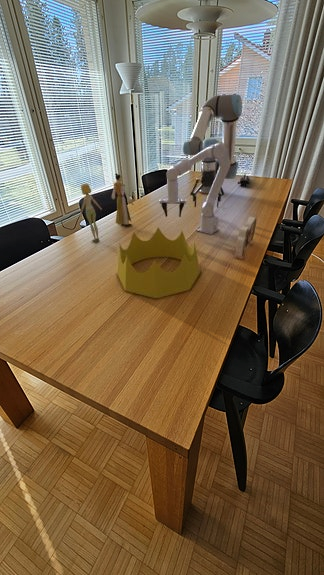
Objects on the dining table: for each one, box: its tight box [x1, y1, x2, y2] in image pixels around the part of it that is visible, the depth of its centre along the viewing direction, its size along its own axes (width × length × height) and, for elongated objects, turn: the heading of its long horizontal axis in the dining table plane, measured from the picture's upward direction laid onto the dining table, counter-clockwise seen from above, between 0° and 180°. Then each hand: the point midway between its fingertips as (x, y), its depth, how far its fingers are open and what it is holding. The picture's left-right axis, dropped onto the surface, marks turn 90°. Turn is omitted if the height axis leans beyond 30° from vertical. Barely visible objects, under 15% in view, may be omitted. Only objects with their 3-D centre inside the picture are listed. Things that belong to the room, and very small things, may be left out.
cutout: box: [235, 216, 258, 260], centre depth 125 cm, size 15×3×25 cm
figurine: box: [110, 173, 134, 228], centre depth 153 cm, size 19×9×30 cm, turn 47°
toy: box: [237, 173, 251, 188], centre depth 230 cm, size 10×5×30 cm
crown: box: [116, 226, 201, 299], centre depth 110 cm, size 36×36×15 cm
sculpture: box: [79, 183, 103, 243], centre depth 136 cm, size 13×5×30 cm, turn 134°
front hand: (173, 216), depth 149 cm, fingers open, 7 cm apart
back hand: (206, 206), depth 164 cm, fingers open, 13 cm apart
